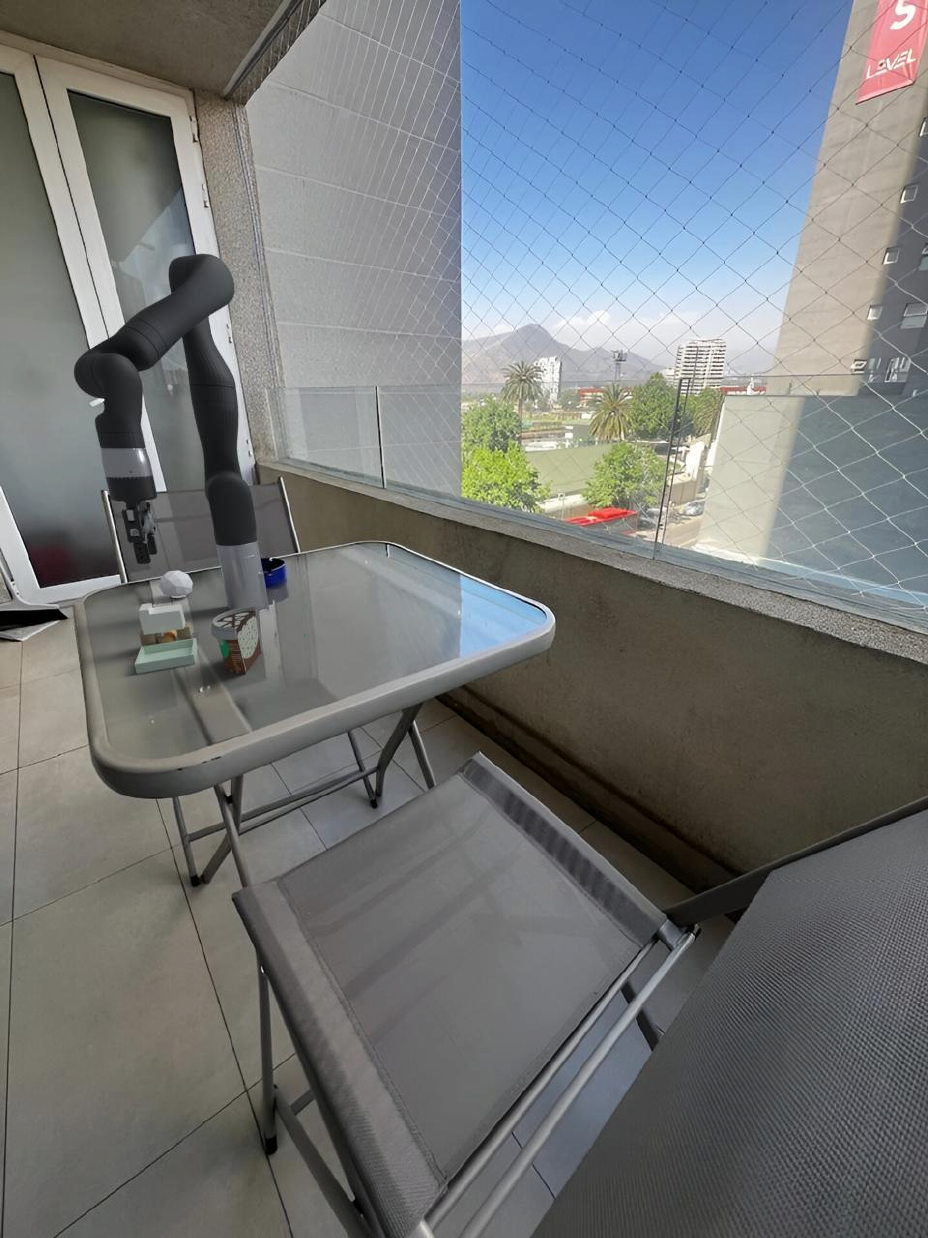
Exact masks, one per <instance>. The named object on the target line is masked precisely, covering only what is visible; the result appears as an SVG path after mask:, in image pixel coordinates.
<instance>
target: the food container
mask: <svg viewBox="0 0 928 1238" xmlns="http://www.w3.org/2000/svg"><path fill="white" fill-rule="evenodd" d="M258 616H259V614H258V611H257V609H256V607H245V608H239V609H235V610H231V611H229V610H228V611H225V612H223V613H220V614H218V615H216V616H215V617H214V618H213V619H212V623H211V627H210V628H211V630H210V631H211V636H212V637H214V638H216V639H217V643H218V647H219V650H220V653H221V656H222V659H223V661H224V666H225V668H226V671H228V672H229V673H232V674H236V675H246V674H247V673H248V672H249V671H250V669H251V668H252V666H253V665H254V663H255V662H256V661H257V659H258V658H259V657H260V655H261V654H262V653H263V649H262V643H261V641H262V640H261V636H260V628H259V620H258Z"/></svg>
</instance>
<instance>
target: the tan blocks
mask: <svg viewBox="0 0 928 1238" xmlns="http://www.w3.org/2000/svg"><path fill="white" fill-rule="evenodd" d="M176 632H177V636H178V640H179V641H181V640H188V639H194V637H193V633H194V632H193V630H192V625H191V622H190V621H188V622H185V626H184V629H180V630H176ZM158 638H159V637H158V633H153V634H146V635H144V633H143V629H142V628H141V629H140V631H139V639H140V642H141V645H142V646H141V647H144V646H150V645H156V644H159V641H158Z"/></svg>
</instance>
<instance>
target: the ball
mask: <svg viewBox="0 0 928 1238" xmlns="http://www.w3.org/2000/svg"><path fill="white" fill-rule="evenodd" d="M193 584H194V583H193V581H192V579H191V577H190V576H189V574H187V573H186V572H183V571H180V570H170V571H167V572H166V573H164V574H163V575H162V576H161V577H160V580H159V586H158V587H159V589H160V591H161V592H162V594H163V595H164V594H165V595H167V596H181V595H186V594H188V593H189V594H191V593H192V592H193ZM190 592H191V593H190ZM189 594H188V595H189ZM165 595H164V596H165ZM167 596H166V597H167Z"/></svg>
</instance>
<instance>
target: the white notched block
mask: <svg viewBox="0 0 928 1238" xmlns="http://www.w3.org/2000/svg"><path fill="white" fill-rule="evenodd" d="M138 614H139V615H138V618H139V622H140V625H141V629H143V633H144V635H146V634H153V633H157V634H158V633H159V634H160V633H164V632H166V631H173V630H180V629H184V626H185V623H186V617H185V614H184V610H183V606H182V603H176V604H170V605H163V606H162V605H161V606H157V607H156V606H155V607H153V605H152V602H150V603H149V602H147V603H142V604H141V606H140V608H139V610H138Z"/></svg>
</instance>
